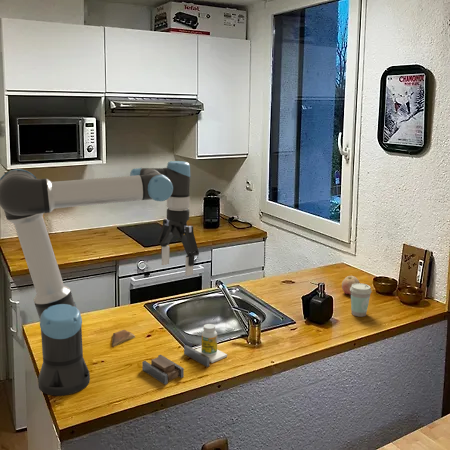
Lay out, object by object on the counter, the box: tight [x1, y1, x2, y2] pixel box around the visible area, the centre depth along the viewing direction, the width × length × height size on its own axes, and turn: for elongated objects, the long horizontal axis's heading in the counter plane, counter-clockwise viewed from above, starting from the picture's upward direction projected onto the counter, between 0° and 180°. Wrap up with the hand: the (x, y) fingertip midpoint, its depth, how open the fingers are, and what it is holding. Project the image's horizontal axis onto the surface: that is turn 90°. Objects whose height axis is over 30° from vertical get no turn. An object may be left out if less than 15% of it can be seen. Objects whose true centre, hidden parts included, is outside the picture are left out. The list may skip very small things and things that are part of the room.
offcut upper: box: [150, 355, 175, 373], centre depth 174 cm, size 4×7×2 cm, turn 42°
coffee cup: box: [350, 283, 373, 318], centre depth 224 cm, size 9×8×12 cm
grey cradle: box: [141, 344, 210, 386], centre depth 178 cm, size 18×12×3 cm, turn 133°
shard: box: [111, 329, 136, 348], centre depth 198 cm, size 11×8×2 cm
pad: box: [194, 346, 228, 364], centre depth 188 cm, size 7×10×1 cm
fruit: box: [341, 275, 360, 296], centre depth 247 cm, size 8×8×8 cm
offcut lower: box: [165, 369, 180, 382], centre depth 175 cm, size 4×9×2 cm, turn 44°
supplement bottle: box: [201, 323, 218, 355], centre depth 187 cm, size 5×5×10 cm
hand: (177, 269), depth 187 cm, fingers open, 13 cm apart
